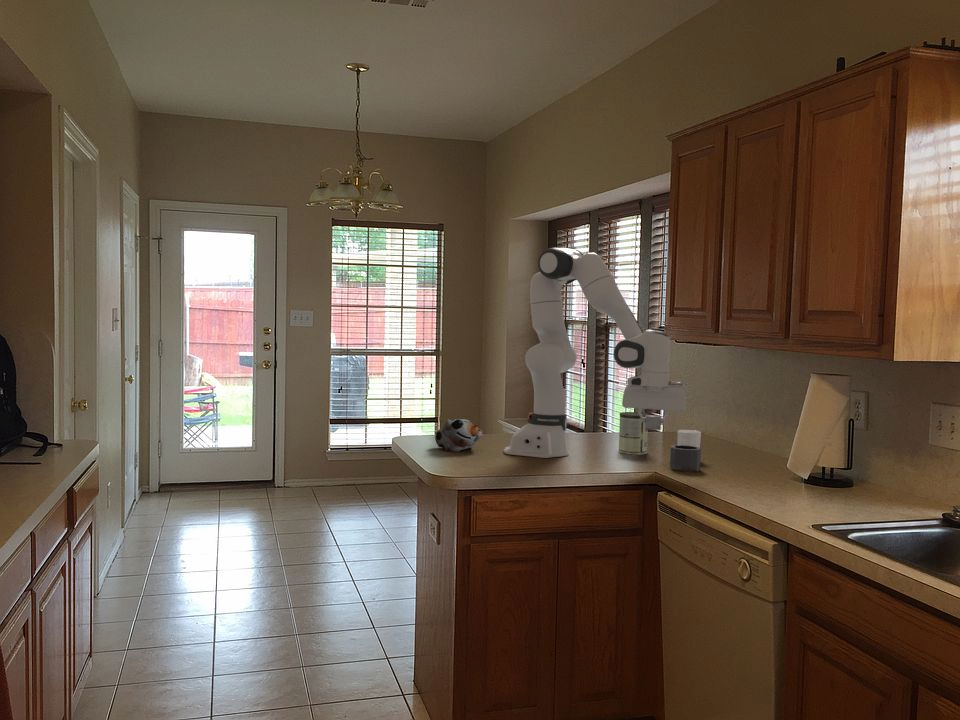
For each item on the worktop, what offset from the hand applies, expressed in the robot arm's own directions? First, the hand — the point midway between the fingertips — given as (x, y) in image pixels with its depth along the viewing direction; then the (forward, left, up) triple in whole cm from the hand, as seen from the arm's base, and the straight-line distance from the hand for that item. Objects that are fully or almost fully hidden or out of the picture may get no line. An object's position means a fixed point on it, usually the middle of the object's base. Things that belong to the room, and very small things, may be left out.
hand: (652, 423), depth 270 cm
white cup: (+13, +22, -15) cm, 30 cm away
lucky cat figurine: (-67, +13, -15) cm, 70 cm away
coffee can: (-6, +31, -15) cm, 35 cm away
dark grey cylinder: (+11, +4, -15) cm, 19 cm away
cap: (0, 0, -2) cm, 2 cm away
